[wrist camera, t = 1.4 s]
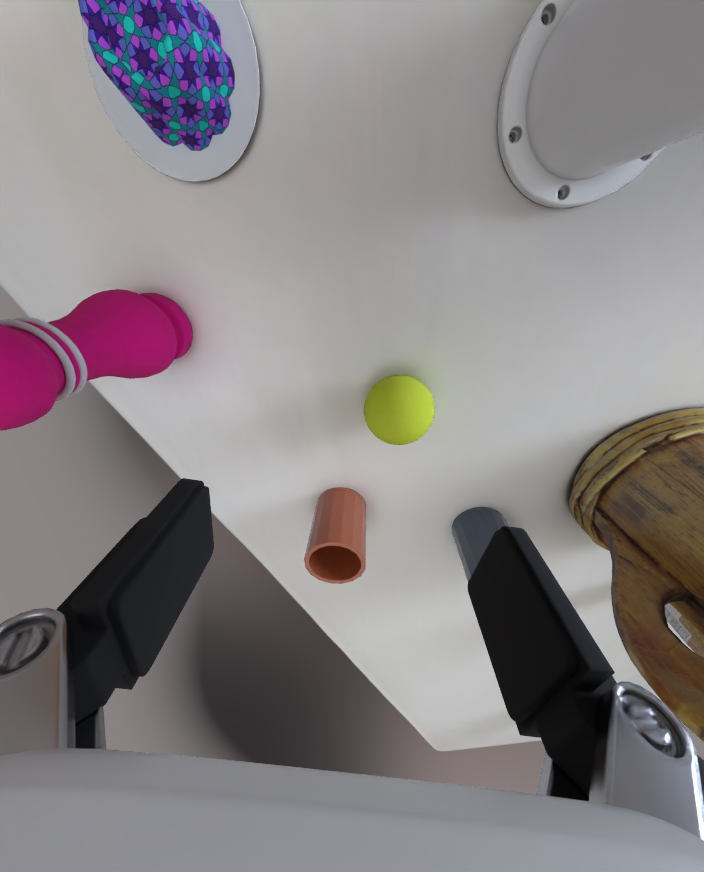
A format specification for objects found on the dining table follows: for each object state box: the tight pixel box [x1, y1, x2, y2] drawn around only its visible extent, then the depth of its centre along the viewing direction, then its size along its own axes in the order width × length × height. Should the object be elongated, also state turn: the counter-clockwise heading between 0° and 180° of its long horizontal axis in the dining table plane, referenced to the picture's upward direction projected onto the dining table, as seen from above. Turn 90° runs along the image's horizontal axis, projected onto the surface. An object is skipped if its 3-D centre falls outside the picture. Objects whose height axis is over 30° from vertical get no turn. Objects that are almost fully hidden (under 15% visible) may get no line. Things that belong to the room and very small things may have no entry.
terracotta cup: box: [304, 488, 366, 584], centre depth 36 cm, size 7×7×9 cm
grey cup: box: [452, 507, 509, 582], centre depth 36 cm, size 7×7×10 cm
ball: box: [364, 375, 434, 445], centre depth 29 cm, size 7×7×7 cm
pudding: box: [78, 0, 260, 182], centre depth 19 cm, size 12×12×5 cm
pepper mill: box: [0, 289, 192, 430], centre depth 21 cm, size 7×7×20 cm
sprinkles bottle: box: [665, 603, 704, 658], centre depth 38 cm, size 5×5×14 cm
